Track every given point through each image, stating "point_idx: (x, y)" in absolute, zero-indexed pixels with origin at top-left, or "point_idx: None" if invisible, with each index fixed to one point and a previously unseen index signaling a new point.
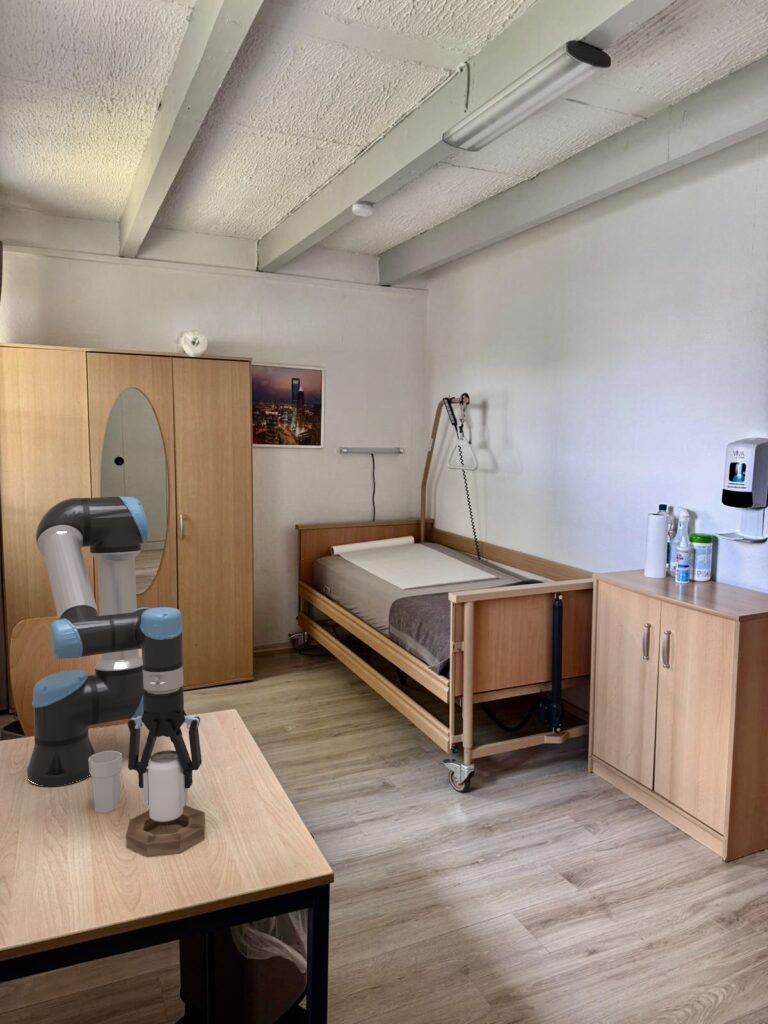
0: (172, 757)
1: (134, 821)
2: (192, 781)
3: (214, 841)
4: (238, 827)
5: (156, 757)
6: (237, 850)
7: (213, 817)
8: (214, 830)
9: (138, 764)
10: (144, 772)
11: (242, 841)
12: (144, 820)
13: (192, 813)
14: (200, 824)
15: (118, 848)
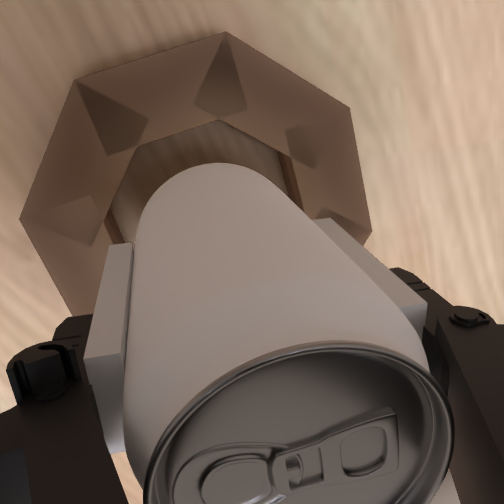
0: (375, 447)
1: (52, 230)
2: (417, 278)
3: (388, 221)
4: (458, 113)
5: (209, 491)
6: (465, 260)
7: (350, 34)
8: (374, 146)
9: (28, 496)
10: (103, 433)
11: (477, 208)
12: (96, 215)
13: (296, 125)
14: (355, 214)
15: (62, 315)
